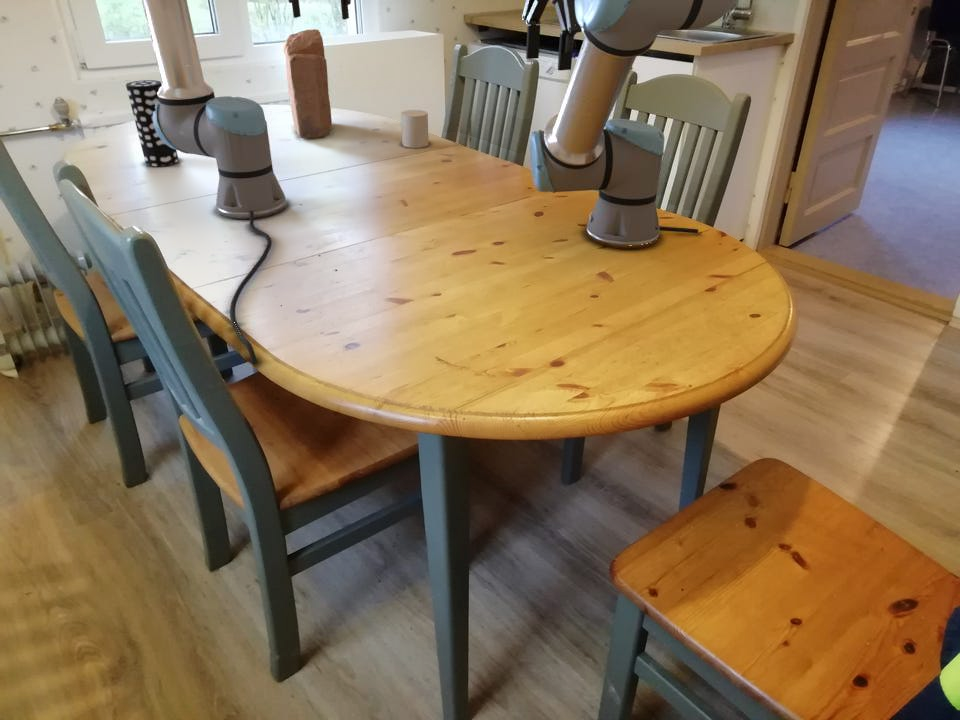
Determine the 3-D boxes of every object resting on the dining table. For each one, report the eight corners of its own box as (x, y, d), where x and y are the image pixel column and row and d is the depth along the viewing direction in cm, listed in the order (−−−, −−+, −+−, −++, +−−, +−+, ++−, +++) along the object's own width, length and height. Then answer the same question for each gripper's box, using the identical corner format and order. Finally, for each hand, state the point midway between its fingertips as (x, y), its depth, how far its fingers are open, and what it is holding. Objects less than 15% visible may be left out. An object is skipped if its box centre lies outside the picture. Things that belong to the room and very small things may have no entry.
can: (431, 141, 206) (430, 110, 202) (423, 148, 200) (422, 117, 195) (407, 139, 208) (406, 109, 203) (398, 146, 202) (397, 115, 197)
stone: (337, 137, 208) (326, 34, 194) (299, 140, 205) (285, 36, 191) (327, 123, 225) (317, 28, 211) (292, 125, 222) (279, 29, 208)
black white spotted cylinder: (184, 157, 190) (167, 80, 179) (169, 166, 183) (151, 87, 172) (155, 156, 190) (136, 79, 179) (139, 165, 183) (119, 86, 172)
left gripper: (364, -78, 170) (371, 17, 182) (271, -79, 174) (283, 14, 186) (353, -78, 164) (361, 21, 175) (257, -79, 168) (270, 18, 180)
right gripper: (508, -57, 141) (505, 55, 153) (571, -51, 122) (562, 76, 134) (540, -57, 144) (534, 53, 156) (607, -51, 125) (595, 73, 137)
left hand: (321, 18), depth 181 cm, fingers open, 13 cm apart
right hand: (547, 64), depth 145 cm, fingers open, 13 cm apart
